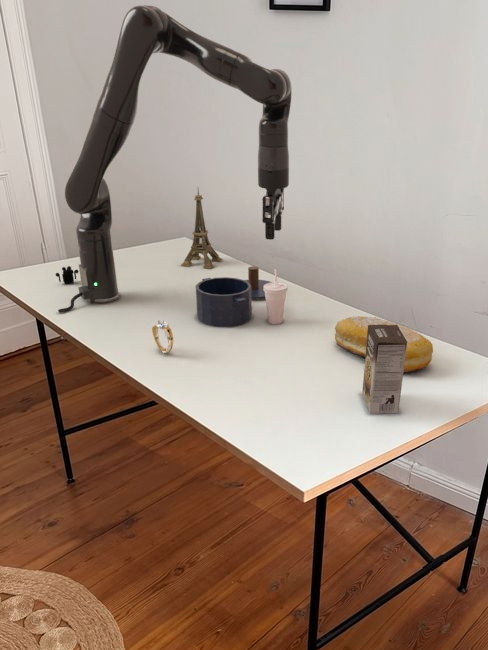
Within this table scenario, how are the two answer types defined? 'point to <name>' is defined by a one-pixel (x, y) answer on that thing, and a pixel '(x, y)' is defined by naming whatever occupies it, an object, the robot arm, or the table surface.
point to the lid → (256, 283)
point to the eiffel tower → (202, 233)
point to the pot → (224, 301)
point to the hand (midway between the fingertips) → (273, 234)
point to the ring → (165, 327)
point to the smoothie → (275, 300)
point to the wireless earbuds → (67, 275)
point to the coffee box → (384, 368)
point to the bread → (355, 328)
